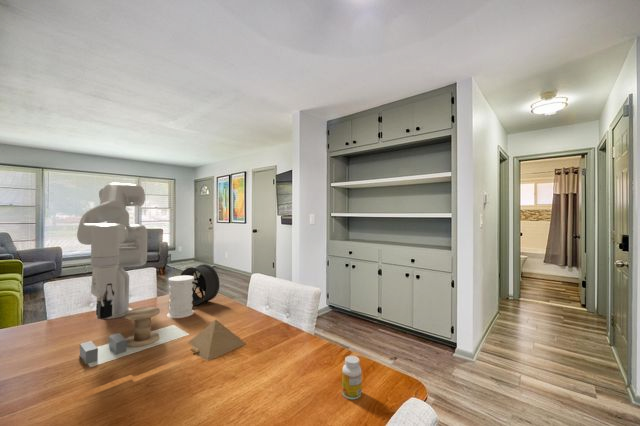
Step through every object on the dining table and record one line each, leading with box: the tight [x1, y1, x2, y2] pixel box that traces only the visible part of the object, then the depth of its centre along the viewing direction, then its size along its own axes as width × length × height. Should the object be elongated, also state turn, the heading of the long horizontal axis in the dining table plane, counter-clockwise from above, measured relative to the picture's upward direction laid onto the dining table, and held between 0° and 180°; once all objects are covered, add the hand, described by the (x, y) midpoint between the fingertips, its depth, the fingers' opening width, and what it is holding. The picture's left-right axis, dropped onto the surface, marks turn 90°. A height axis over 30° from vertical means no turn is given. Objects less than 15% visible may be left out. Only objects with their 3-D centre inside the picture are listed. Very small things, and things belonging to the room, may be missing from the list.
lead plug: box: [96, 295, 109, 320], centre depth 95 cm, size 4×4×7 cm
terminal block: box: [79, 332, 127, 365], centre depth 95 cm, size 8×11×4 cm
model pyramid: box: [187, 319, 247, 362], centre depth 105 cm, size 17×17×10 cm
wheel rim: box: [179, 263, 220, 306], centre depth 152 cm, size 20×9×20 cm, turn 67°
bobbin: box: [124, 306, 161, 348], centre depth 105 cm, size 11×11×11 cm
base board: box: [87, 324, 190, 368], centre depth 103 cm, size 14×31×1 cm, turn 141°
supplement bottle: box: [341, 355, 363, 400], centre depth 79 cm, size 5×5×10 cm
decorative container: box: [166, 275, 195, 319], centre depth 133 cm, size 12×12×18 cm
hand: (104, 315), depth 95 cm, fingers closed on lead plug, 3 cm apart
